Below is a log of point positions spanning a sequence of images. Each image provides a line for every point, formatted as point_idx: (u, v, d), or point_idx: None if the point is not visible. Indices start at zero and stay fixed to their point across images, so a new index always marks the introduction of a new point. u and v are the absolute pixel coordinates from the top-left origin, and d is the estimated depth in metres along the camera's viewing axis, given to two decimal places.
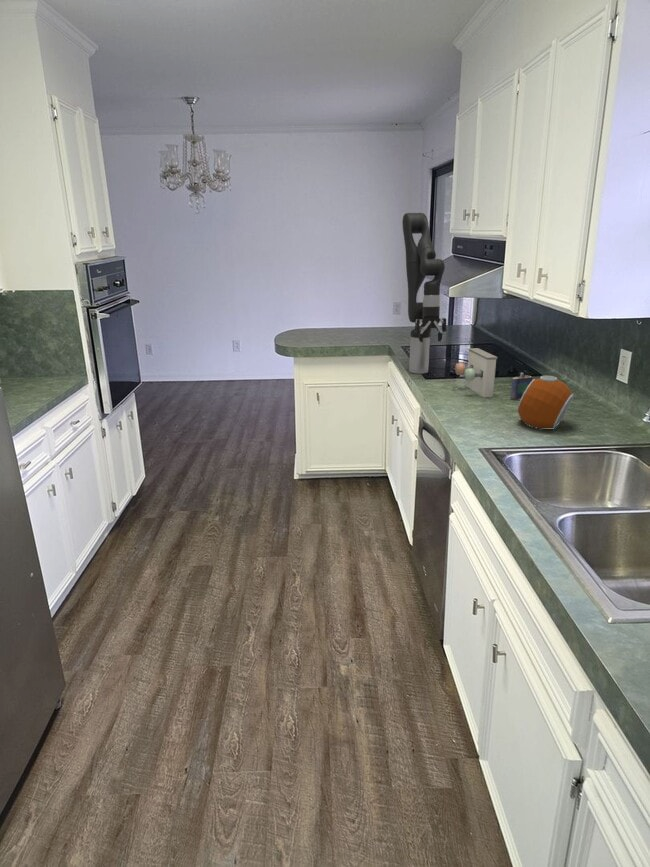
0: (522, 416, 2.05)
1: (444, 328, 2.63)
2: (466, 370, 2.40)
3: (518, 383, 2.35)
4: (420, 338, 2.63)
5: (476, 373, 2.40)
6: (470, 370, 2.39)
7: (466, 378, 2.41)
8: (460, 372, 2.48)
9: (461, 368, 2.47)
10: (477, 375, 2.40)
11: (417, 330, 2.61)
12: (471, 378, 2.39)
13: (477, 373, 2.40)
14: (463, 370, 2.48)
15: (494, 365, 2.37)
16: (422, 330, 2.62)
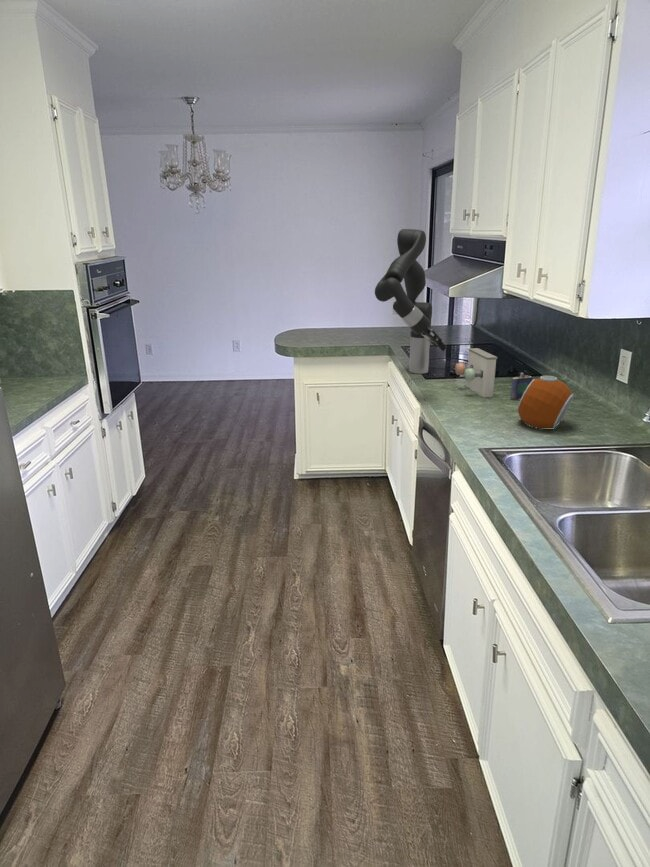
0: (522, 416, 2.05)
1: (435, 342, 2.27)
2: (466, 370, 2.40)
3: (518, 383, 2.35)
4: None
5: (476, 373, 2.40)
6: (470, 370, 2.39)
7: (466, 378, 2.41)
8: (460, 372, 2.48)
9: (461, 368, 2.47)
10: (477, 375, 2.40)
11: None
12: (471, 378, 2.39)
13: (477, 373, 2.40)
14: (463, 370, 2.48)
15: (494, 365, 2.37)
16: (427, 338, 2.36)
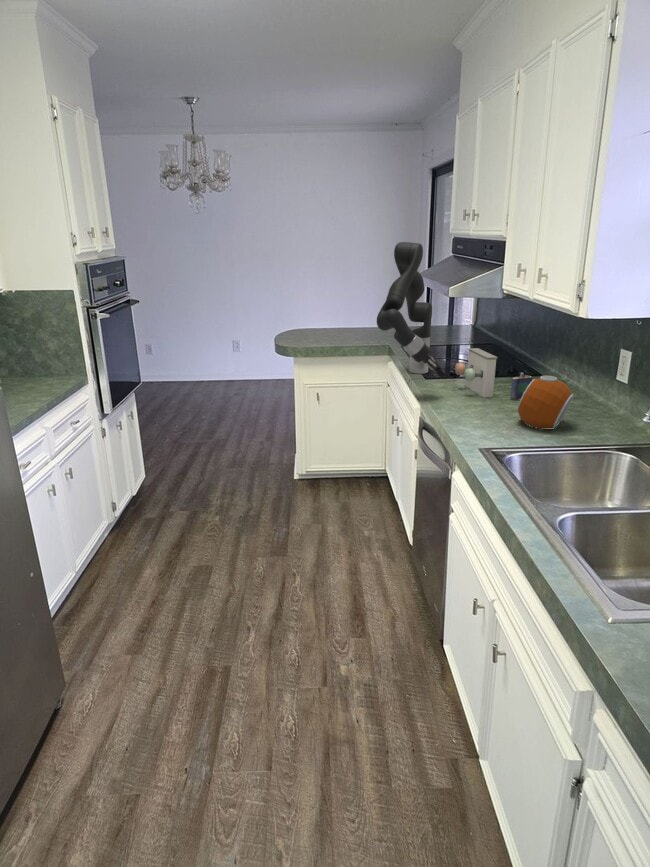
0: (522, 416, 2.05)
1: (434, 370, 2.35)
2: (466, 370, 2.40)
3: (518, 383, 2.35)
4: None
5: (476, 373, 2.40)
6: (470, 370, 2.39)
7: (466, 378, 2.41)
8: (460, 372, 2.48)
9: (461, 368, 2.47)
10: (477, 375, 2.40)
11: None
12: (471, 378, 2.39)
13: (477, 373, 2.40)
14: (463, 370, 2.48)
15: (494, 365, 2.37)
16: None
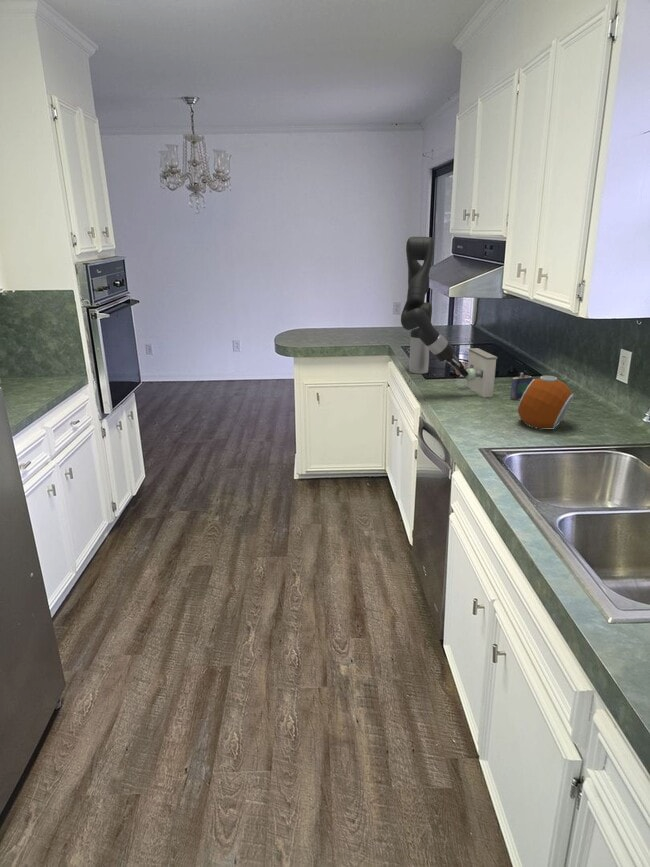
0: (522, 416, 2.05)
1: (457, 369, 2.37)
2: (467, 370, 2.40)
3: (518, 383, 2.35)
4: None
5: (477, 373, 2.40)
6: (471, 370, 2.39)
7: (467, 378, 2.41)
8: None
9: None
10: (478, 375, 2.40)
11: None
12: (472, 378, 2.39)
13: (478, 373, 2.40)
14: None
15: (494, 365, 2.37)
16: (455, 368, 2.40)
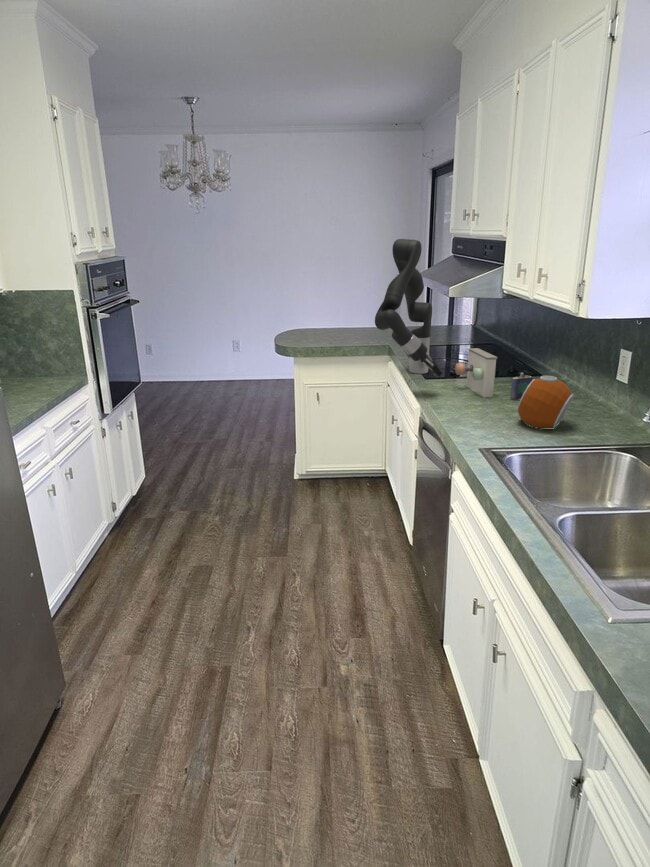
0: (522, 416, 2.05)
1: (431, 369, 2.39)
2: (474, 370, 2.41)
3: (518, 383, 2.35)
4: None
5: None
6: (478, 370, 2.39)
7: (474, 378, 2.42)
8: (460, 372, 2.48)
9: (461, 368, 2.47)
10: None
11: None
12: (479, 378, 2.40)
13: None
14: (463, 370, 2.48)
15: (494, 365, 2.37)
16: None
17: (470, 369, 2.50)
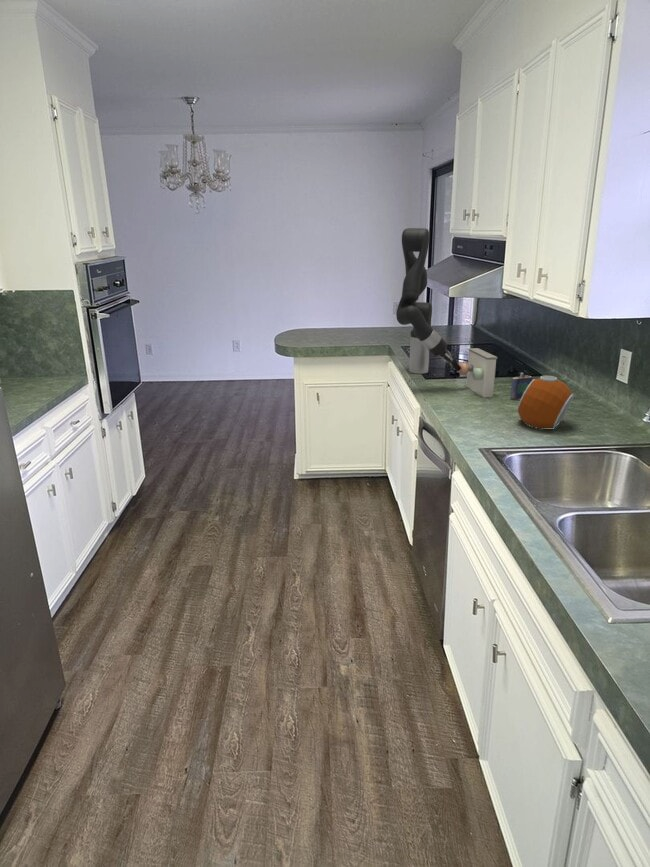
0: (522, 416, 2.05)
1: (450, 363, 2.46)
2: (474, 370, 2.41)
3: (517, 383, 2.35)
4: None
5: None
6: (478, 370, 2.39)
7: (474, 378, 2.42)
8: (463, 372, 2.48)
9: (464, 368, 2.48)
10: None
11: None
12: (479, 378, 2.40)
13: None
14: (466, 370, 2.48)
15: (494, 365, 2.37)
16: (448, 362, 2.49)
17: None
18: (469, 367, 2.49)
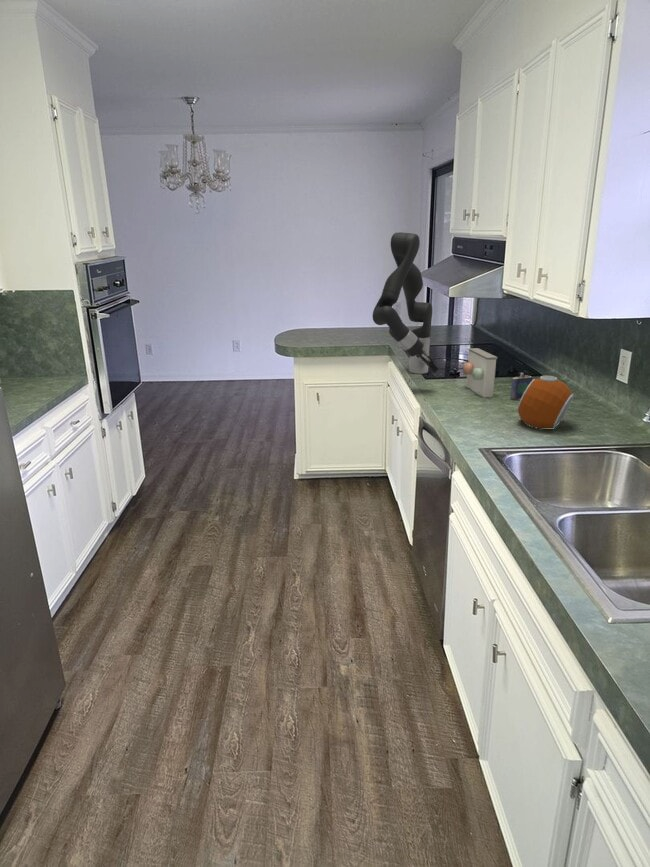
0: (522, 416, 2.05)
1: (427, 364, 2.44)
2: (474, 370, 2.41)
3: (517, 383, 2.35)
4: None
5: None
6: (478, 370, 2.39)
7: (474, 378, 2.42)
8: (468, 372, 2.49)
9: (469, 368, 2.48)
10: None
11: None
12: (479, 378, 2.40)
13: None
14: (471, 370, 2.48)
15: (494, 365, 2.37)
16: None
17: None
18: None
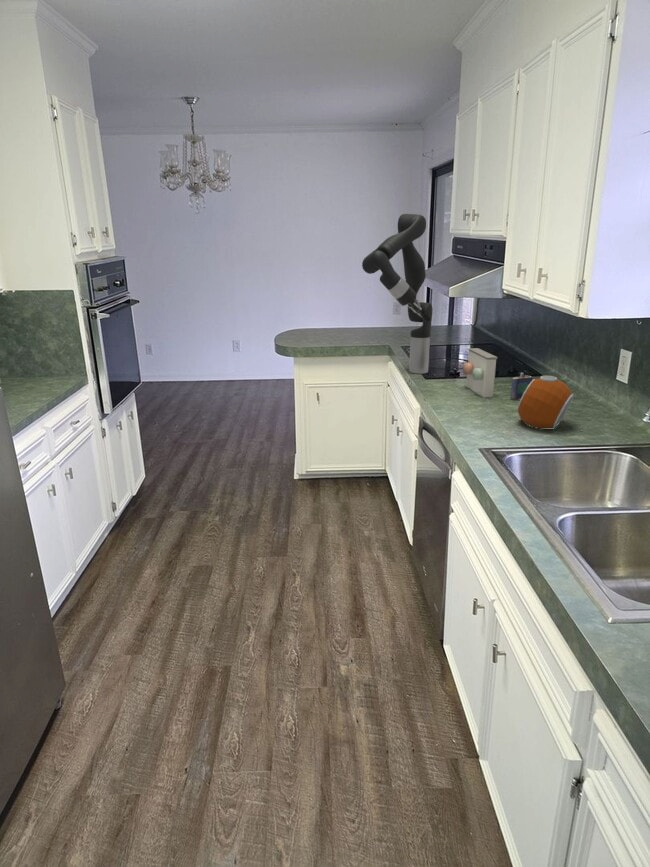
0: (522, 416, 2.05)
1: (419, 314, 2.38)
2: (474, 370, 2.41)
3: (518, 383, 2.35)
4: None
5: None
6: (478, 370, 2.39)
7: (474, 378, 2.42)
8: (468, 372, 2.49)
9: (469, 368, 2.48)
10: None
11: (416, 312, 2.43)
12: (479, 378, 2.40)
13: None
14: (471, 370, 2.48)
15: (494, 365, 2.37)
16: None
17: None
18: None
